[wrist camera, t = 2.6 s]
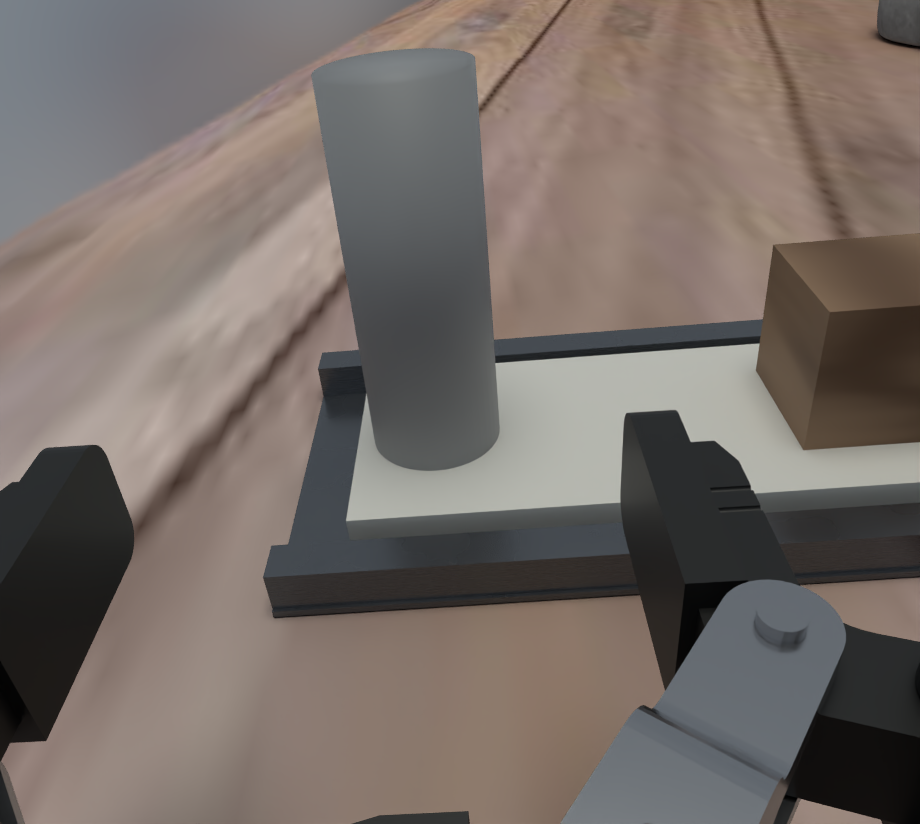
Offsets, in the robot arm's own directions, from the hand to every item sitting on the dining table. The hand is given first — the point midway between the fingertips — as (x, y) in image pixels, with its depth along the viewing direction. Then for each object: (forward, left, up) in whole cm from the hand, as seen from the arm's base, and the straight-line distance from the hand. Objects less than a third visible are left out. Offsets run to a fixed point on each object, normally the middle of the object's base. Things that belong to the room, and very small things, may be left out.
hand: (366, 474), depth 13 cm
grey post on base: (-9, -11, -9) cm, 17 cm away
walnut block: (-13, -11, -7) cm, 19 cm away
